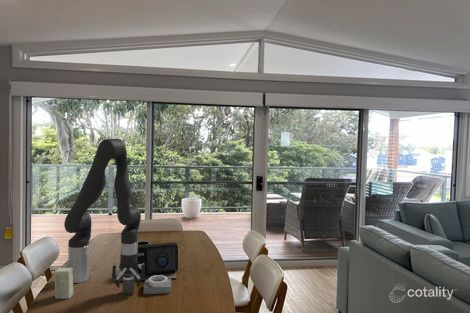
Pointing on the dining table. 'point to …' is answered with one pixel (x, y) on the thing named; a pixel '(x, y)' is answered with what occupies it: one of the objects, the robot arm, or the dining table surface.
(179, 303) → the dining table surface
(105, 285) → the dining table surface
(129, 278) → the lens
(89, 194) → the robot arm
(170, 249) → the camera
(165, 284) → the mount block
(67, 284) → the skincare box
